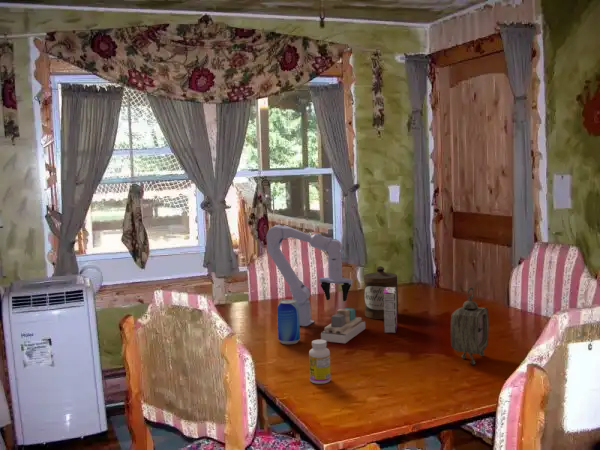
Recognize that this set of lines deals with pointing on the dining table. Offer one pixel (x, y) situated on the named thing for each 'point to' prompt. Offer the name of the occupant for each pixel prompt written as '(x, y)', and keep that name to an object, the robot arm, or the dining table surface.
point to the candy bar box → (390, 310)
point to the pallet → (348, 323)
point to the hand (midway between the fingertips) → (336, 300)
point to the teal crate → (351, 313)
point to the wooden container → (378, 292)
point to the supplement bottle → (319, 362)
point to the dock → (343, 337)
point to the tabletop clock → (470, 328)
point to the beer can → (288, 321)
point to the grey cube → (337, 320)
